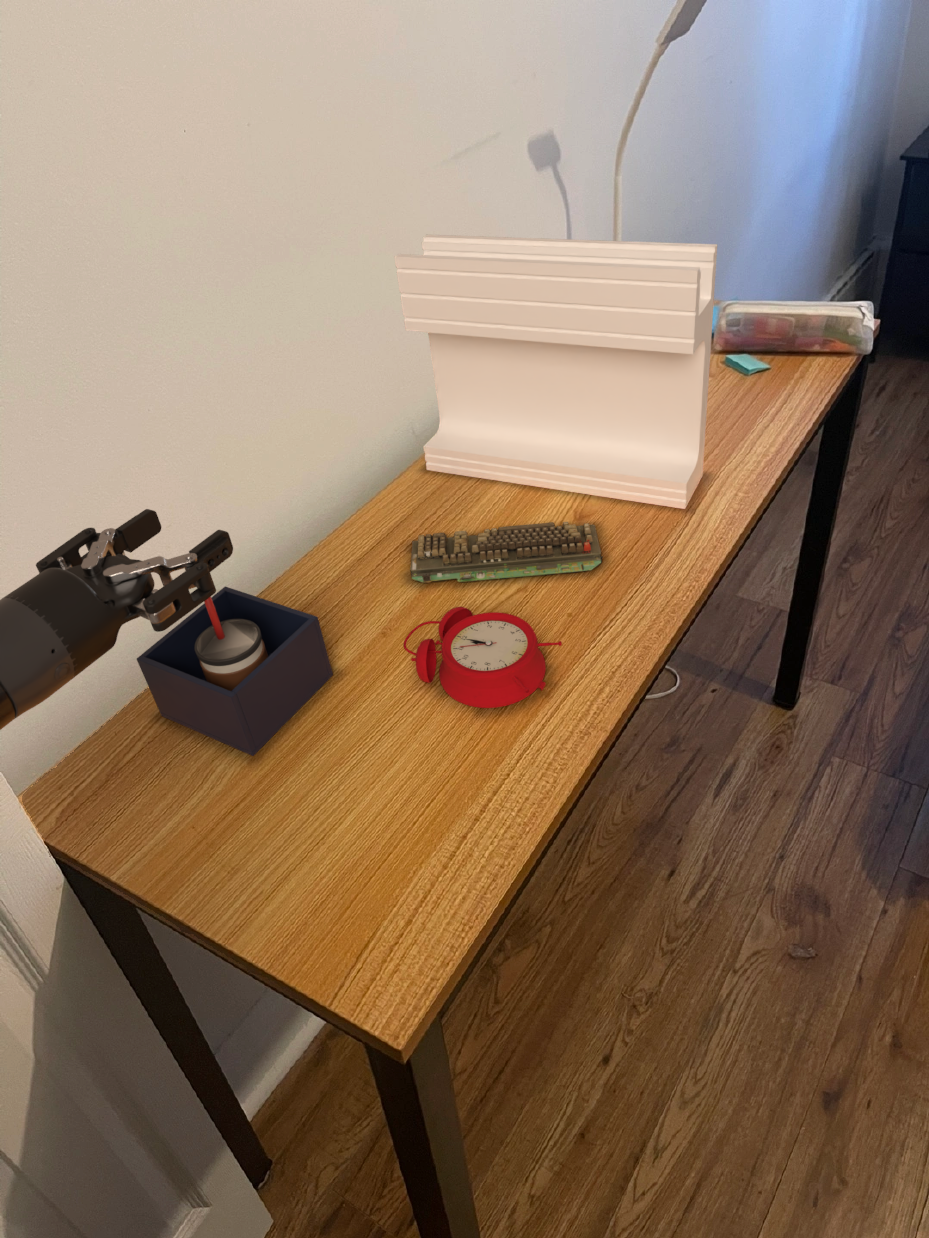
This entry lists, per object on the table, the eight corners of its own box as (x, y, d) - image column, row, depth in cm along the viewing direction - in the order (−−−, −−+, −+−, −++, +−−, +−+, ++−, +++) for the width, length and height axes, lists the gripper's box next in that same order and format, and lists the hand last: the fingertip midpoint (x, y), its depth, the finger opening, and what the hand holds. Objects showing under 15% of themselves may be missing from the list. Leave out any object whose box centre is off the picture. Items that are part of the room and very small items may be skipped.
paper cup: (292, 691, 90) (258, 578, 81) (251, 731, 86) (210, 617, 77) (247, 673, 93) (208, 562, 84) (205, 711, 89) (160, 600, 80)
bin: (253, 756, 84) (231, 697, 80) (161, 716, 90) (135, 658, 85) (333, 674, 92) (317, 616, 87) (244, 642, 98) (225, 586, 93)
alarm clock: (524, 698, 81) (382, 629, 85) (515, 740, 86) (380, 673, 90) (572, 628, 88) (438, 568, 92) (561, 671, 92) (434, 612, 97)
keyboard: (595, 526, 108) (595, 512, 106) (605, 571, 101) (605, 556, 99) (412, 542, 109) (410, 528, 108) (409, 587, 102) (406, 573, 101)
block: (702, 475, 114) (717, 244, 96) (685, 509, 108) (697, 270, 91) (453, 441, 128) (426, 234, 110) (426, 469, 122) (394, 256, 105)
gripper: (77, 627, 61) (241, 506, 71) (-49, 578, 67) (118, 474, 77) (116, 709, 65) (265, 584, 75) (-5, 655, 72) (147, 547, 82)
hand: (190, 528), depth 76 cm, fingers open, 8 cm apart
